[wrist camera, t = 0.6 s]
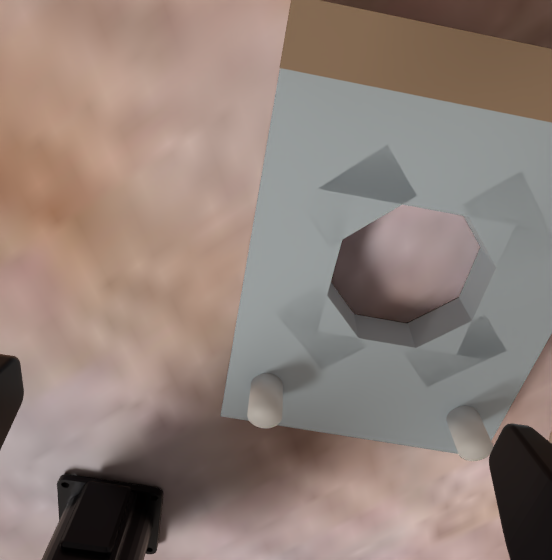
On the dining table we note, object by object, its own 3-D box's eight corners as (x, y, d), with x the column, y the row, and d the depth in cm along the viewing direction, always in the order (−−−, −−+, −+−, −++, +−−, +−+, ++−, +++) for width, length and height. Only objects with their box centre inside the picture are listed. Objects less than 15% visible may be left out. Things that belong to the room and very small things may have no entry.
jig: (470, 429, 28) (495, 490, 24) (225, 389, 27) (214, 446, 23) (656, 72, 18) (741, 88, 15) (292, -4, 18) (291, -6, 14)
